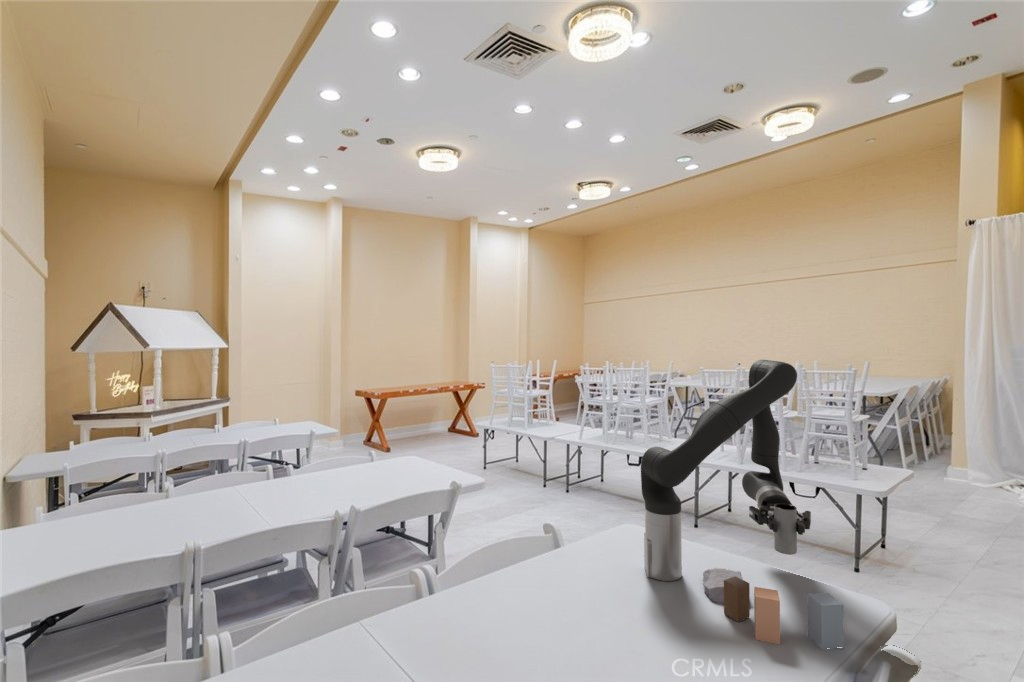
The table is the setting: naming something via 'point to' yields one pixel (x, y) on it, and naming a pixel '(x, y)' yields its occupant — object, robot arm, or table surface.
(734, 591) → the wooden block
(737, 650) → the table surface
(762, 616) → the terracotta block
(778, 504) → the planter
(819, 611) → the slate-blue block
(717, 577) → the stone block
